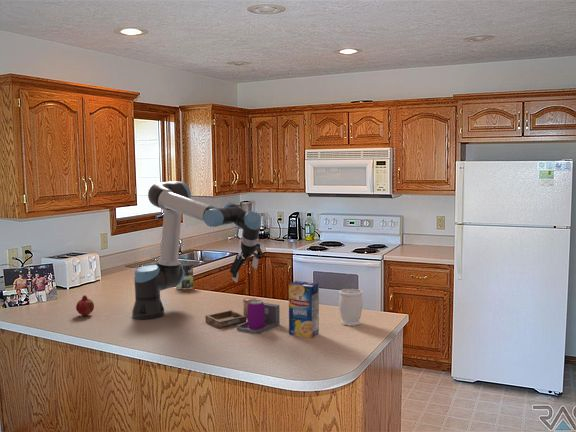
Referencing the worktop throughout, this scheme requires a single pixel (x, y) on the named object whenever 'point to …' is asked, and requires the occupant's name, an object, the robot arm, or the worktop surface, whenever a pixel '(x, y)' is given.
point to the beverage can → (256, 314)
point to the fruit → (85, 306)
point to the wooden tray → (225, 319)
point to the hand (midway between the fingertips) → (244, 274)
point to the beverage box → (304, 309)
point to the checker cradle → (270, 319)
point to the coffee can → (187, 276)
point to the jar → (350, 306)
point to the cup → (245, 304)
